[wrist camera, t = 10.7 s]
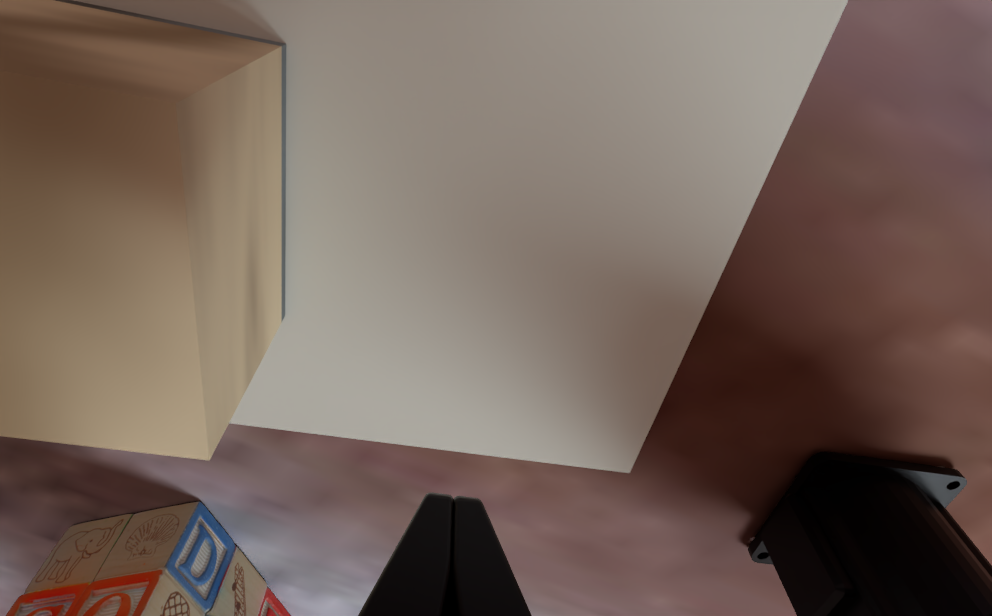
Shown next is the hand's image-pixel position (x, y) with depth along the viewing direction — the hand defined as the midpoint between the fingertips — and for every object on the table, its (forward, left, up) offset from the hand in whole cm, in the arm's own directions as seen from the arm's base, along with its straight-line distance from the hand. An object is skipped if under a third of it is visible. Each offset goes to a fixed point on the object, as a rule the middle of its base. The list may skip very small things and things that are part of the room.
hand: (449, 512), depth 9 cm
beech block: (+8, 0, -4) cm, 9 cm away
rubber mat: (+4, 0, -10) cm, 11 cm away
